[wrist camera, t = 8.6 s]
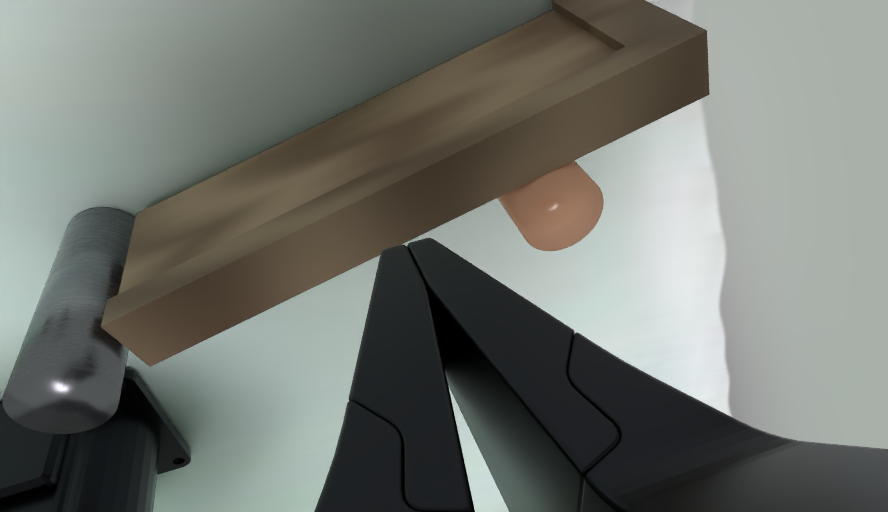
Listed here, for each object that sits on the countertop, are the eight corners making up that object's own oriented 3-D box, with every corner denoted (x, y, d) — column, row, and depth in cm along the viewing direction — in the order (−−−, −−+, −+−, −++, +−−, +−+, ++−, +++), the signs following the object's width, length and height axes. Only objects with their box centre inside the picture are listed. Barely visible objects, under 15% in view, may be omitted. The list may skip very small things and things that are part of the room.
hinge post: (160, 256, 20) (135, 416, 15) (88, 273, 20) (37, 444, 15) (128, 199, 19) (89, 356, 13) (50, 218, 18) (-22, 386, 13)
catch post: (515, 138, 21) (600, 238, 17) (454, 153, 21) (522, 260, 16) (514, 77, 20) (606, 167, 15) (448, 91, 20) (520, 189, 15)
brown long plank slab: (166, 245, 19) (149, 366, 15) (129, 207, 18) (100, 326, 14) (606, 31, 19) (708, 94, 15) (597, -23, 18) (706, 30, 14)
